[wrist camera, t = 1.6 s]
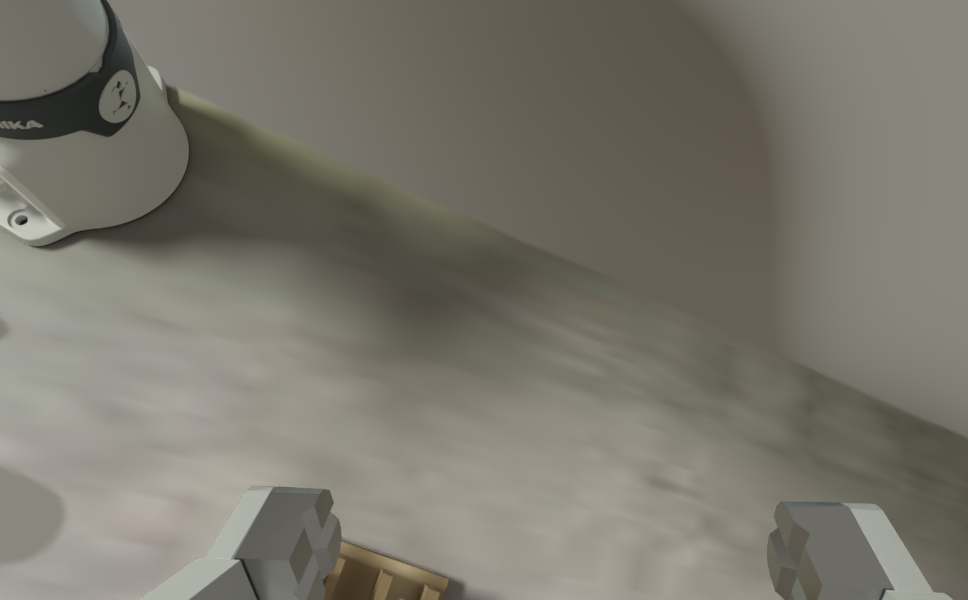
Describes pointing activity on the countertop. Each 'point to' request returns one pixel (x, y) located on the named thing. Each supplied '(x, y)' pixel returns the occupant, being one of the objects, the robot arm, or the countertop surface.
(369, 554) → the rack
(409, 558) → the countertop surface
